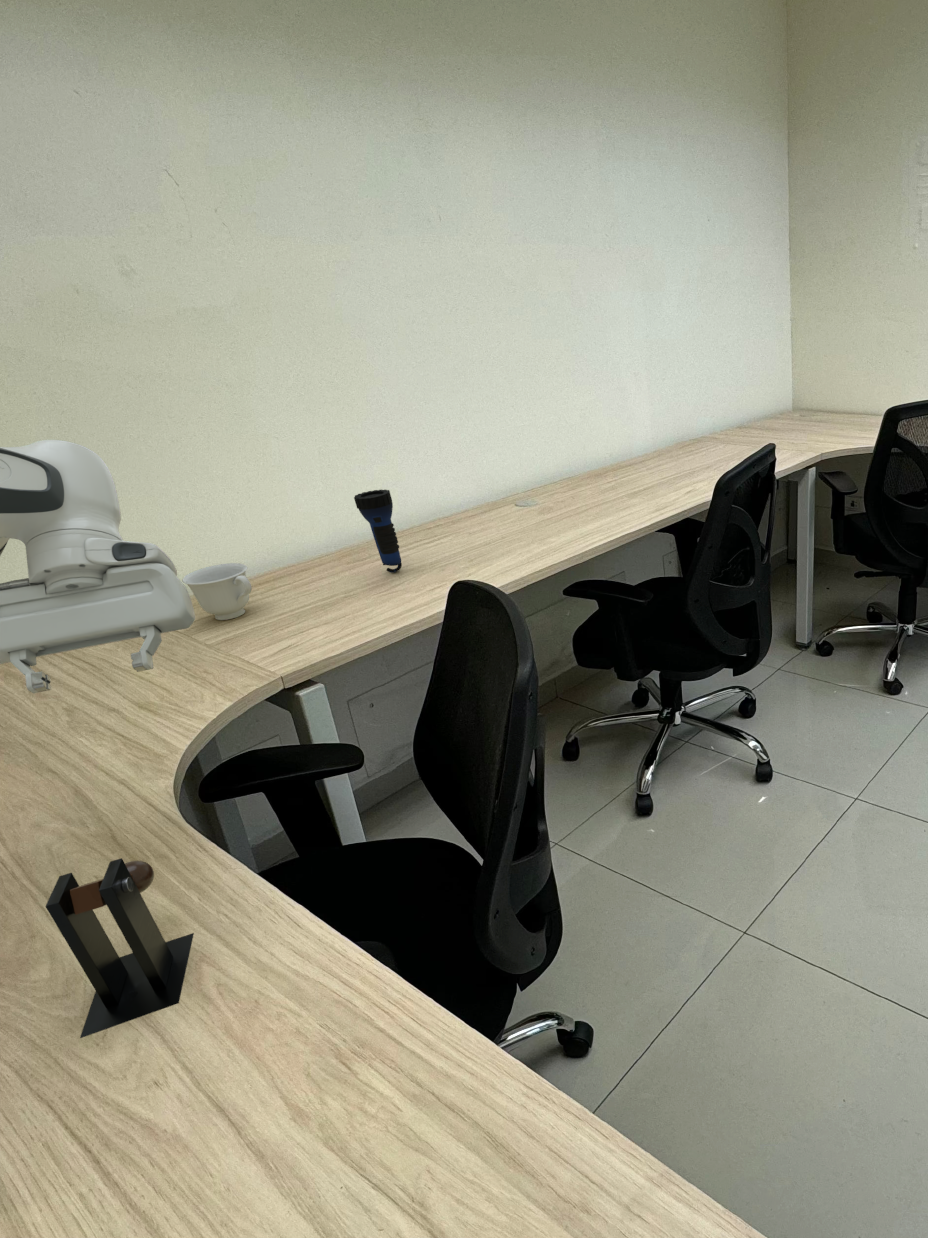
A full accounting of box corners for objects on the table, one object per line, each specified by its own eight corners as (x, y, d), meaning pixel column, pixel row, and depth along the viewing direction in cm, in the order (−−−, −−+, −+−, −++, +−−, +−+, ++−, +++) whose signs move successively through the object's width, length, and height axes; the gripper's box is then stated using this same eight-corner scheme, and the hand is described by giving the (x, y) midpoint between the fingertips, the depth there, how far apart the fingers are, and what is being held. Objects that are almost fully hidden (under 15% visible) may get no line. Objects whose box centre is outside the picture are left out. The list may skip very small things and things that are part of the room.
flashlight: (369, 575, 187) (346, 495, 178) (398, 564, 193) (377, 487, 184) (387, 580, 182) (365, 499, 174) (416, 570, 188) (396, 491, 180)
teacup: (236, 630, 160) (219, 586, 156) (185, 623, 165) (168, 580, 160) (283, 607, 170) (269, 565, 166) (234, 601, 175) (219, 561, 171)
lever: (123, 897, 83) (115, 864, 83) (162, 885, 84) (154, 853, 84) (67, 924, 71) (58, 886, 71) (113, 909, 72) (105, 872, 72)
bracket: (109, 969, 81) (48, 863, 75) (197, 940, 84) (146, 835, 78) (84, 1046, 73) (13, 934, 66) (183, 1011, 76) (123, 900, 69)
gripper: (-54, 576, 81) (-47, 695, 78) (172, 541, 89) (188, 648, 86) (-19, 600, 87) (-11, 712, 83) (191, 565, 95) (207, 666, 91)
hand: (92, 679), depth 84 cm, fingers open, 8 cm apart
